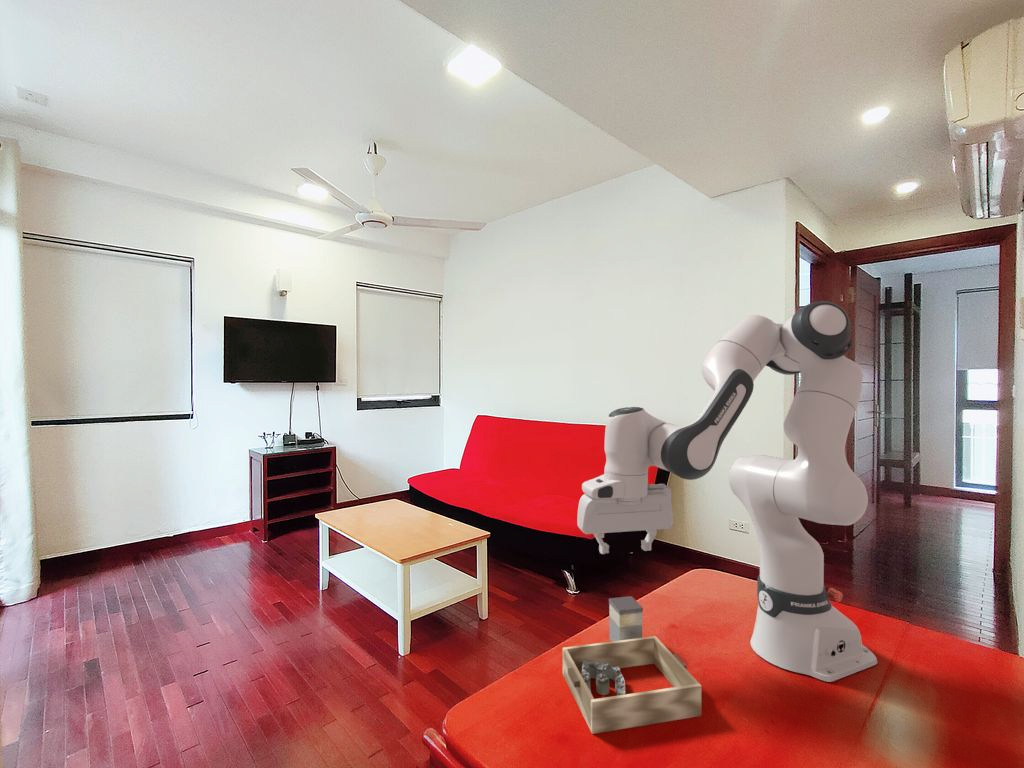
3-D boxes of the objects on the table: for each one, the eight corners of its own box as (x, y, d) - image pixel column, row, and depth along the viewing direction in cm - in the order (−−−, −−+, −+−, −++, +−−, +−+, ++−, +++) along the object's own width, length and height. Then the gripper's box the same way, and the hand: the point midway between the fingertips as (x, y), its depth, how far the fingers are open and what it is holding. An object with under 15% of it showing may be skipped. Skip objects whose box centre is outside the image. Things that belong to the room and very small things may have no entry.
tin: (631, 635, 101) (631, 596, 100) (642, 648, 96) (642, 607, 95) (608, 637, 100) (608, 598, 99) (619, 652, 94) (619, 610, 94)
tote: (659, 660, 91) (659, 635, 91) (706, 715, 77) (706, 684, 77) (558, 674, 87) (558, 648, 87) (586, 734, 73) (586, 703, 72)
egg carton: (627, 724, 75) (627, 699, 75) (580, 718, 77) (580, 693, 76) (623, 681, 86) (623, 659, 86) (582, 676, 87) (582, 655, 87)
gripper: (663, 480, 102) (663, 542, 102) (574, 483, 98) (574, 549, 98) (679, 486, 96) (678, 553, 96) (585, 491, 92) (584, 560, 92)
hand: (625, 551), depth 97 cm, fingers open, 8 cm apart
